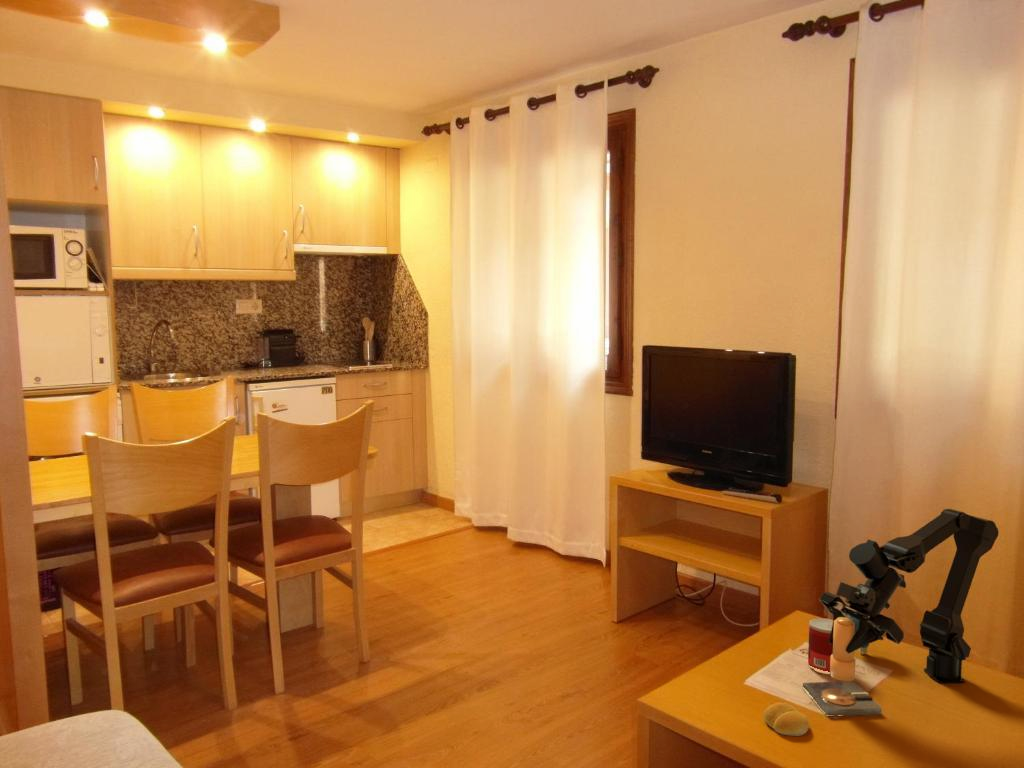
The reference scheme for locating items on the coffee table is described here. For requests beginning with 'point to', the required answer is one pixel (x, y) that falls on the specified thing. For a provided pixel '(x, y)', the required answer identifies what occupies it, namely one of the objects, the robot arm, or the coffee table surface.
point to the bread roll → (786, 719)
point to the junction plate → (842, 698)
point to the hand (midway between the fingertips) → (838, 647)
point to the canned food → (820, 644)
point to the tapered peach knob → (842, 650)
